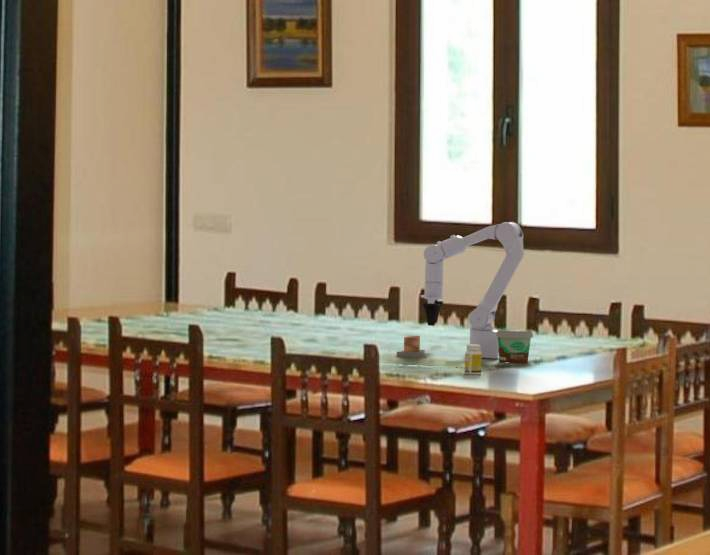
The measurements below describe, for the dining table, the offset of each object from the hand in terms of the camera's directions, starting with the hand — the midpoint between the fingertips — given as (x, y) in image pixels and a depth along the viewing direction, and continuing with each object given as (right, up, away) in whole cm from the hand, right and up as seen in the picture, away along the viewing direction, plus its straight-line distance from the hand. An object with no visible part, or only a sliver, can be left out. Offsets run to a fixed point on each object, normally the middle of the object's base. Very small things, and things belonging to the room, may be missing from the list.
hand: (432, 324), depth 446 cm
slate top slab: (-7, -9, -12) cm, 17 cm away
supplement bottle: (+9, -13, -45) cm, 48 cm away
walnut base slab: (-7, -11, -12) cm, 18 cm away
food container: (+25, -12, -16) cm, 32 cm away
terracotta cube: (-7, -8, -13) cm, 17 cm away
